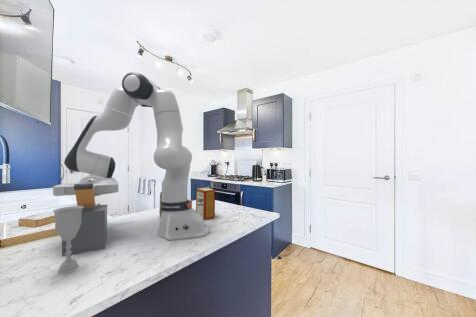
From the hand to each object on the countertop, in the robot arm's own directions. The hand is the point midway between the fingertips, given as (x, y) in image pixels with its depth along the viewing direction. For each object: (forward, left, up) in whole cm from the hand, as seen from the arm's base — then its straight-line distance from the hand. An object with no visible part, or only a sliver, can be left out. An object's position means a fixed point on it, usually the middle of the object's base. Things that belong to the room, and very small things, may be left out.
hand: (84, 191), depth 72 cm
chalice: (-4, +13, -21) cm, 25 cm away
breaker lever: (+1, -3, -6) cm, 7 cm away
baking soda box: (-40, -38, -21) cm, 59 cm away
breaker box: (+1, -3, -21) cm, 21 cm away
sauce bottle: (-18, -39, -21) cm, 48 cm away
